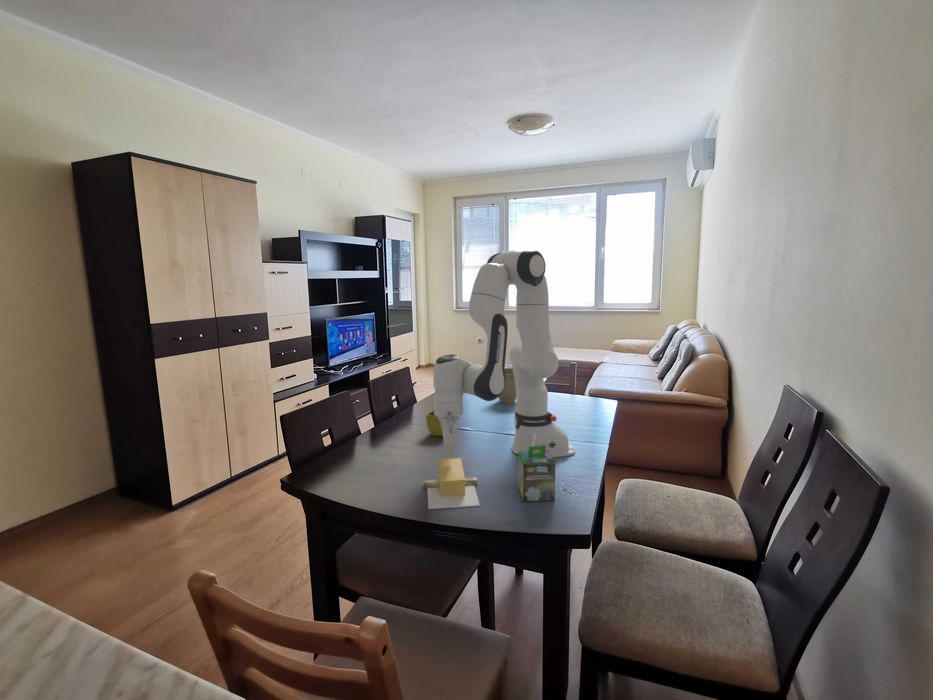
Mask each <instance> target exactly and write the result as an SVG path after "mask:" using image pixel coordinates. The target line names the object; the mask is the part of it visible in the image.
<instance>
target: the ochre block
mask: <svg viewBox="0 0 933 700" xmlns="http://www.w3.org/2000/svg"><path fill="white" fill-rule="evenodd" d="M464 471H465V470H464V466H463V461H462V458H461V457H455V458H442V459H441V458H440V459H437V475H438V479H439V485H440V494H441V496H452V495H465V486H466V485H465V478H466V477H465V472H464Z"/></svg>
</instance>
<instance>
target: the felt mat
mask: <svg viewBox="0 0 933 700" xmlns="http://www.w3.org/2000/svg"><path fill="white" fill-rule="evenodd" d="M475 486H476V485H465V495H452V496H441V494H440V487H430V488H426V489H427V508H428V510H436V509H437V510H438V509H440V510H441V509H454V508H455V509H456V508H457V509H459V508H471V507H473V508H474V507H480V506H481V505H480V504H481V503H480V502H479V497H478V495H477V490H476V487H475Z"/></svg>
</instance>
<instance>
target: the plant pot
mask: <svg viewBox="0 0 933 700" xmlns="http://www.w3.org/2000/svg"><path fill="white" fill-rule="evenodd" d="M497 399H498V401H499V403H501V404H507V405H509V404H513V403H516V402H515V401H516V385H515V380H514V374H513V367H512V368H511V367H509V368H508V367H506V368H505V388H504V391H503V392H502V394H501V395H500V396H499V397H498V398H497Z"/></svg>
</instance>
